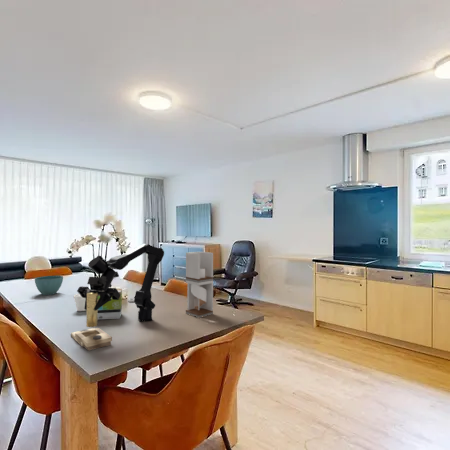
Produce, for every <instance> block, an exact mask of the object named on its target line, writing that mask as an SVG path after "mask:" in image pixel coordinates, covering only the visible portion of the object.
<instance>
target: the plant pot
mask: <svg viewBox="0 0 450 450" xmlns="http://www.w3.org/2000/svg"><path fill="white" fill-rule="evenodd" d="M63 280H64V276H63V275H47V276H46V275H45V276H40V277H39V276H38V277H35V278H34V283H35V284H34V285H35V287H36V289H37V290H38V292H39V293H40V294H41V295H43V296H52V295H55V294H57V292H58V291H60V290H59V289H60V288H61V287H62V284H63Z"/></svg>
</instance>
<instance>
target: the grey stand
mask: <svg viewBox="0 0 450 450" xmlns="http://www.w3.org/2000/svg"><path fill="white" fill-rule="evenodd" d="M185 283H186V284H187V297H186V298H187V301H186V302H187V308H186V309H185V314H186V313H187V314H186V315H188V314H190V315H189V316H191V315H193V316H192V317H194V316H196V317H195V318H197V317H200V318H203V317H202V316H204V317H208V316H211V314H212V315H214V252H210V251H209V252H208V251H190V252H188V251H187V252H185ZM207 315H208V316H207Z"/></svg>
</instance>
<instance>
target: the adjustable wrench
mask: <svg viewBox="0 0 450 450" xmlns="http://www.w3.org/2000/svg"><path fill="white" fill-rule="evenodd" d="M134 299H135V298H134V297H131V298H130V299H127V303H130V304H131V303H135V302H134Z"/></svg>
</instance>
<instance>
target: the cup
mask: <svg viewBox="0 0 450 450" xmlns="http://www.w3.org/2000/svg"><path fill="white" fill-rule="evenodd" d="M73 299H74V302H75V307H76V311H77V312H87V310H85V309H84V308H85V301H86V298H83V297H82V296H81V295H80V294H79V293H76V294H74V295H73Z"/></svg>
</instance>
